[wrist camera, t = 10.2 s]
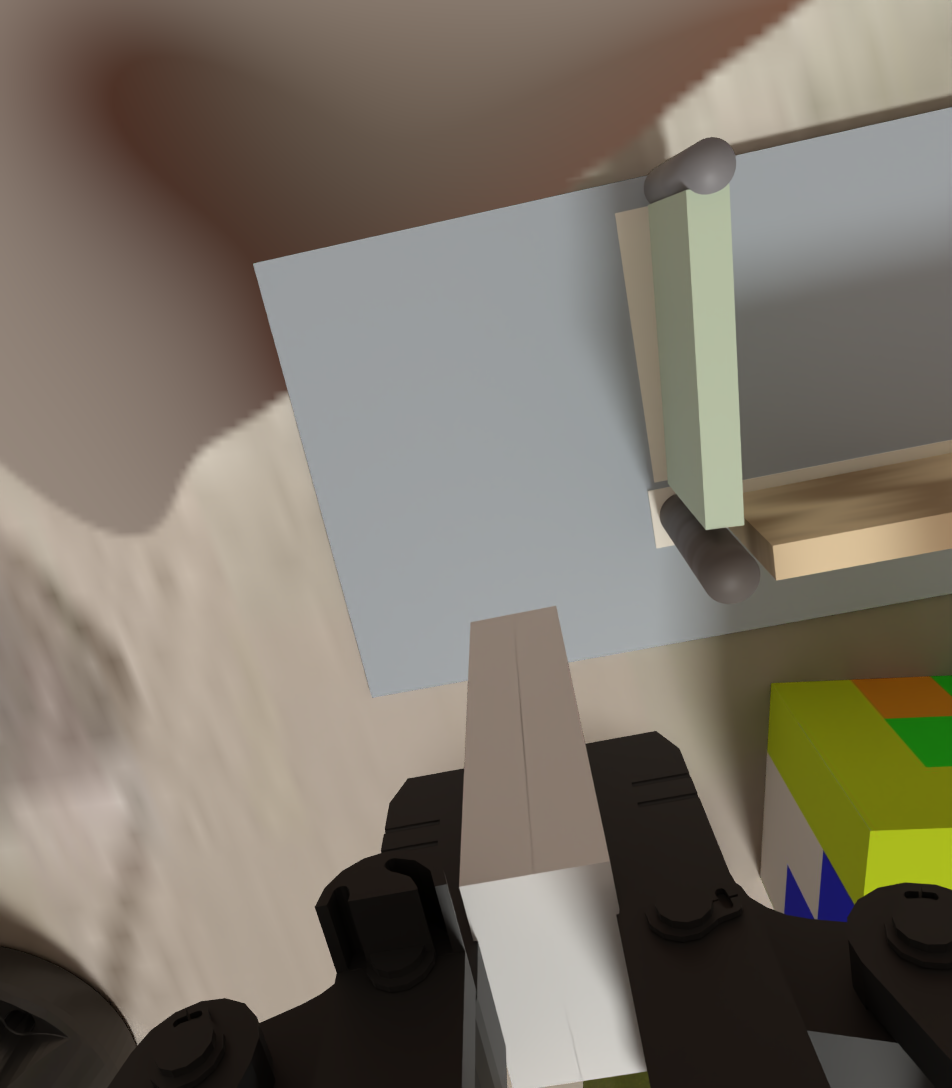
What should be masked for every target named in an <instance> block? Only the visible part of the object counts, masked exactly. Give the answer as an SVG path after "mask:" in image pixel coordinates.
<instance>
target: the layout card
mask: <svg viewBox="0 0 952 1088" xmlns="http://www.w3.org/2000/svg"><path fill="white" fill-rule="evenodd" d="M735 157H736V170H735V173H734V176H733V178H732V180H731V181H730V182H729V186H730V209H731V232H732V254H733V277H734V300H735V323H736V346H737V369H738V392H739V415H740V438H741V461H742V484H743V493H745V492H751V491H756V490H761V489H766V488H771V487H777V486H782V485H787V484H792V483H797V482H803V481H808V480H813V479H818V478H823V477H829V476H834V475H839V474H844V473H849V472H855V471H860V470H865V469H870V468H875V467H881V466H886V465H891V464H896V463H901V462H907V461H912V460H917V459H922V458H927V457H933V456H938V455H943V454H948V453H952V107H950V108H946V109H941V110H937V111H932V112H928V113H923V114H919V115H914V116H910V117H905V118H901V119H897V120H892V121H888V122H883V123H879V124H874V125H870V126H865V127H861V128H856V129H852V130H847V131H843V132H838V133H834V134H830V135H825V136H821V137H816V138H812V139H807V140H803V141H798V142H794V143H789V144H785V145H780V146H776V147H771V148H767V149H762V150H758V151H754V152H749V153H745V154H740V155H736V156H735ZM647 176H648V175H646V176H642V177H637V178H633V179H628V180H624V181H620V182H615V183H611V184H606V185H602V186H597V187H593V188H588V189H584V190H579V191H575V192H570V193H566V194H561V195H557V196H552V197H548V198H544V199H539V200H535V201H530V202H526V203H522V204H517V205H512V206H508V207H504V208H499V209H494V210H490V211H486V212H481V213H477V214H472V215H468V216H463V217H459V218H454V219H450V220H445V221H441V222H436V223H432V224H428V225H423V226H418V227H414V228H410V229H405V230H401V231H396V232H392V233H387V234H383V235H379V236H374V237H369V238H365V239H361V240H356V241H351V242H347V243H343V244H338V245H334V246H329V247H325V248H321V249H316V250H311V251H307V252H302V253H298V254H293V255H289V256H285V257H280V258H276V259H271V260H267V261H262V262H258V263H254V264H253V265H254V269H255V273H256V276H257V279H258V284H259V287H260V291H261V294H262V298H263V301H264V305H265V309H266V312H267V316H268V320H269V324H270V327H271V331H272V335H273V338H274V342H275V345H276V349H277V352H278V356H279V360H280V364H281V367H282V370H283V375H284V378H285V382H286V386H287V389H288V393H289V397H290V400H291V404H292V407H293V411H294V415H295V418H296V422H297V426H298V429H299V433H300V437H301V440H302V444H303V448H304V451H305V455H306V459H307V462H308V466H309V469H310V473H311V477H312V480H313V484H314V488H315V491H316V495H317V499H318V502H319V506H320V510H321V513H322V517H323V520H324V524H325V528H326V531H327V535H328V539H329V542H330V546H331V550H332V553H333V557H334V561H335V564H336V568H337V572H338V575H339V579H340V582H341V586H342V590H343V593H344V597H345V601H346V604H347V608H348V612H349V615H350V619H351V623H352V626H353V630H354V633H355V637H356V641H357V644H358V648H359V652H360V655H361V659H362V663H363V666H364V670H365V674H366V677H367V681H368V685H369V688H370V692H371V695H372V698H373V697H379V696H384V695H390V694H396V693H401V692H407V691H412V690H418V689H423V688H429V687H435V686H440V685H446V684H451V683H457V682H462V681H468V668H469V645H470V622H474V621H480V620H485V619H490V618H495V617H500V616H505V615H510V614H516V613H521V612H526V611H531V610H536V609H541V608H546V607H552V606H556V607H557V612H558V617H559V622H560V626H561V631H562V636H563V641H564V645H565V650H566V655H567V660H568V662H574V661H579V660H585V659H591V658H596V657H602V656H607V655H613V654H618V653H624V652H629V651H635V650H641V649H646V648H652V647H657V646H663V645H668V644H674V643H680V642H685V641H691V640H696V639H702V638H707V637H713V636H719V635H724V634H730V633H735V632H741V631H746V630H752V629H758V628H763V627H769V626H774V625H780V624H785V623H791V622H797V621H802V620H808V619H813V618H819V617H824V616H830V615H836V614H841V613H847V612H852V611H858V610H863V609H869V608H874V607H880V606H886V605H891V604H897V603H902V602H908V601H913V600H919V599H925V598H930V597H936V596H941V595H947V594H952V548H951V549H946V550H941V551H935V552H930V553H924V554H919V555H913V556H908V557H902V558H897V559H892V560H886V561H881V562H875V563H870V564H864V565H859V566H853V567H848V568H843V569H837V570H832V571H826V572H821V573H815V574H810V575H804V576H799V577H794V578H788V579H783V580H777V581H776V580H775V579H774V578H773V576H772V575H771V574H770V573H769V572H768V571H767V570H766V569H765V568H764V567H763V565H762V564H761V563H760V562H759V561H758V560H757V559H756V558H755V557H754V556H753V554H752V553H751V552H750V551H749V550H748V549H747V548H746V547H745V546H744V545H743V544H742V542H741V541H740V540H739V539H738V538H737V537H736V536H735V535H734V534H733V533H732V531H731V530H730V529H729V528H728V527H726V528H727V529H728V530H729V531H730V533H731V534H732V535H733V536H734V537H735V538H736V539H737V540H738V541H739V543H740V544H741V545H742V546H743V547H744V548H745V549H746V550H747V551H748V552H749V554H750V555H751V556H752V557H753V558H754V559H755V560H756V562H757V563H758V565H759V568H760V582H759V585H758V587H757V589H756V590H755V592H754V593H753V594H752V595H751V596H750V597H749V598H747V599H746V600H744V601H742V602H739V603H735V604H723V603H719V602H717V601H715V600H713V599H712V598H711V597H710V596H709V595H708V594H707V593H706V591H705V590H704V588H703V587H702V585H701V584H700V582H699V581H698V579H697V578H696V576H695V575H694V573H693V572H692V570H691V568H690V567H689V565H688V564H687V562H686V561H685V559H684V558H683V556H682V555H681V553H680V552H679V550H678V549H677V547H676V546H675V544H674V543H673V541H672V540H671V538H670V537H669V535H668V534H667V532H666V531H665V529H664V528H663V526H662V524H661V522H660V510H661V507H662V505H663V504H664V502H665V501H666V500H667V499H668V498H669V497H671V496H672V495H674V494H676V493H675V492H674V491H673V489H672V488H671V487H670V486H669V484H668V479H667V465H666V451H665V437H664V423H663V409H662V395H661V381H660V367H659V353H658V339H657V325H656V311H655V297H654V283H653V269H652V255H651V241H650V227H649V214H648V205H649V204H650V203H649V202H648V201H647V199H646V197H645V194H644V183H645V180H646V177H647Z"/></svg>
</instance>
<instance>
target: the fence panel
mask: <svg viewBox="0 0 952 1088" xmlns="http://www.w3.org/2000/svg"><path fill="white" fill-rule="evenodd" d="M735 170H736V157H735V153H734V151H733V149H732V147H731V146H730V145H729V144H728V143H727V142H726V141H724V140H722V139H720V138H714V137H711V138H705V139H703V140H701V141H699V142H697V143H695V144H694V145H692V146H690V147H689V148H687V149H685V150H684V151H682V152H681V153H679V154H677V155H676V156H674V157H672V158H671V159H669V160H667V161H666V162H664V163H662V164H661V165H659V166H657V167H656V168H654V169H653V170H652V171H651V172H650V173H649V174H648V176H647V177H646V180H645V183H644V194H645V197H646V199H647V201H648V202H649V203H650V204H649V205H648V214H649V227H650V241H651V255H652V269H653V283H654V297H655V311H656V325H657V339H658V353H659V367H660V381H661V395H662V409H663V423H664V437H665V451H666V465H667V479H668V484H669V486H670V487H671V488H672V489H673V491H674V492H675V493H676V494H677V495H678V497H679V498H680V499H681V500H682V502H683V503H684V504H685V505H686V506H687V508H688V509H689V510H690V511H691V513H692V514H693V515H694V516H695V517H696V519H697V520H698V521H699V522H700V524H701V525H702V526H703V527H704V528H705V530H710V529H718V528H726V527H734V526H742V525H744V507H743V484H742V461H741V438H740V415H739V392H738V369H737V346H736V323H735V300H734V277H733V254H732V232H731V209H730V186H729V182H730V181H731V180H732V178H733V176H734V173H735Z"/></svg>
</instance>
